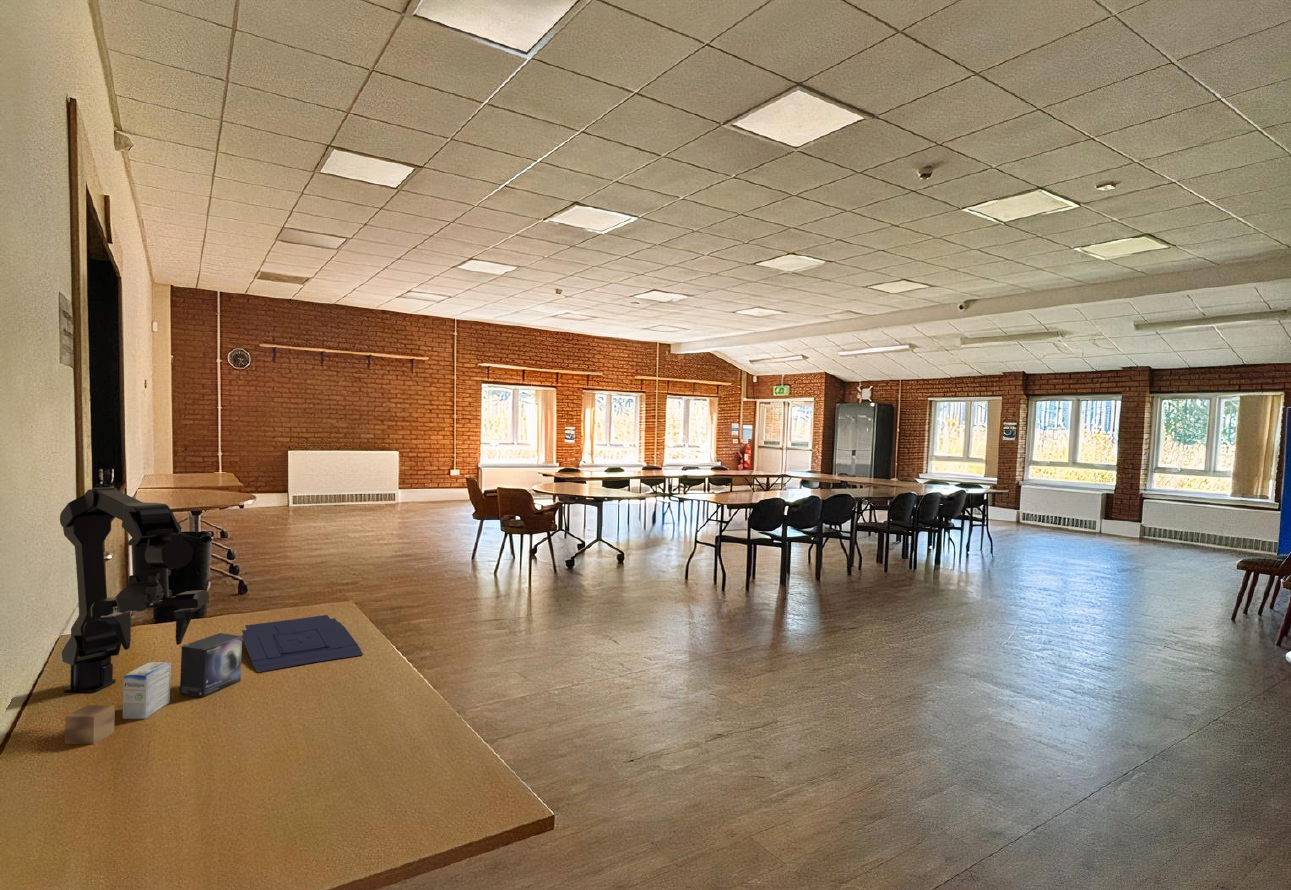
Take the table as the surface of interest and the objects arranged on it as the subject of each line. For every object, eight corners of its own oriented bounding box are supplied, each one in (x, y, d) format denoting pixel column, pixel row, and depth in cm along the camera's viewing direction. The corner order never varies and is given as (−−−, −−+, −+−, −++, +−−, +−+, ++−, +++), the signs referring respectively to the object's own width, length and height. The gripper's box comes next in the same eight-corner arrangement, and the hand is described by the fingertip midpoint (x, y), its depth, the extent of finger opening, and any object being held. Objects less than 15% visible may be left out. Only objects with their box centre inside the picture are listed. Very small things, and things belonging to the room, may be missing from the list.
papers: (333, 623, 199) (334, 610, 198) (364, 664, 175) (365, 651, 175) (236, 636, 184) (236, 623, 183) (255, 683, 160) (256, 668, 160)
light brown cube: (64, 744, 123) (65, 716, 123) (86, 732, 128) (87, 705, 128) (93, 744, 123) (94, 716, 123) (114, 732, 128) (114, 705, 128)
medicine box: (147, 703, 141) (148, 661, 141) (170, 703, 142) (171, 661, 142) (121, 719, 134) (122, 675, 133) (146, 719, 134) (147, 675, 134)
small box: (204, 698, 145) (205, 648, 145) (177, 695, 146) (178, 646, 146) (242, 681, 155) (243, 634, 155) (218, 678, 157) (219, 632, 157)
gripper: (71, 577, 128) (74, 662, 127) (183, 569, 131) (186, 651, 131) (106, 569, 139) (108, 648, 138) (208, 561, 142) (211, 638, 142)
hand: (153, 646), depth 137 cm, fingers open, 9 cm apart
